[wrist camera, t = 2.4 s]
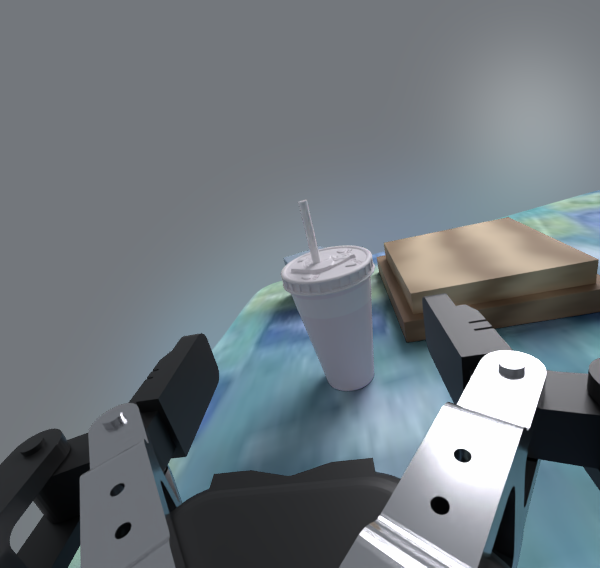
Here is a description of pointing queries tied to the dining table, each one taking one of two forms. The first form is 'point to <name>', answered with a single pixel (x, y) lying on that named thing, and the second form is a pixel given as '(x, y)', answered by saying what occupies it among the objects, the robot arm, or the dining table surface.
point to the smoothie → (335, 307)
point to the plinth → (489, 275)
